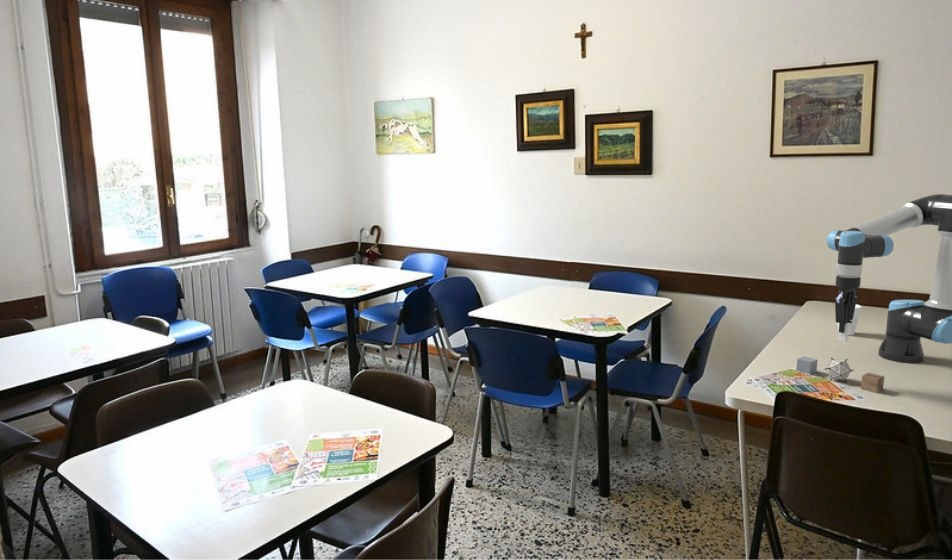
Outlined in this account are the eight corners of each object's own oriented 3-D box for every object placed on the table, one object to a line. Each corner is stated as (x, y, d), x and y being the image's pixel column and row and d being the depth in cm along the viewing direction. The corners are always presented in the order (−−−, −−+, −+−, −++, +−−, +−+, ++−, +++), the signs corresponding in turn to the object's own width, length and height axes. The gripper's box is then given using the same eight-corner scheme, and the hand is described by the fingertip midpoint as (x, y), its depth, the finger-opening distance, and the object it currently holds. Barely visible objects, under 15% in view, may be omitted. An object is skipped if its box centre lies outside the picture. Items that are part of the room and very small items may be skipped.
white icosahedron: (839, 388, 238) (856, 366, 238) (844, 388, 230) (862, 365, 230) (816, 373, 241) (833, 351, 241) (820, 372, 233) (838, 350, 233)
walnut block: (867, 386, 231) (869, 372, 230) (882, 390, 227) (884, 376, 226) (860, 389, 228) (862, 375, 227) (876, 393, 224) (877, 379, 223)
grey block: (803, 368, 249) (804, 356, 248) (816, 372, 245) (817, 359, 244) (796, 371, 246) (797, 358, 245) (809, 375, 242) (810, 362, 241)
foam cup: (862, 336, 289) (865, 307, 286) (841, 336, 289) (844, 308, 287) (850, 330, 298) (853, 302, 296) (830, 330, 298) (832, 303, 296)
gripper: (846, 271, 235) (840, 335, 240) (828, 276, 228) (822, 341, 233) (868, 274, 229) (862, 339, 234) (850, 279, 222) (844, 346, 227)
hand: (842, 340), depth 233 cm, fingers closed
